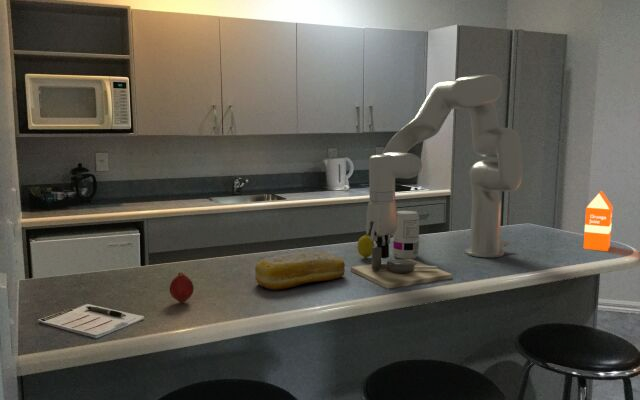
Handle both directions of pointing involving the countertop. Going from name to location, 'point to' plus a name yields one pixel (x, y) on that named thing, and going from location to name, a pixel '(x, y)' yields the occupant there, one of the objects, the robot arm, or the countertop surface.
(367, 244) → the lemon
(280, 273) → the bread
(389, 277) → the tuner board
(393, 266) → the dark grey handled piece
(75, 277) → the countertop surface
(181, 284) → the onion
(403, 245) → the supplement can
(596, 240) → the orange juice
